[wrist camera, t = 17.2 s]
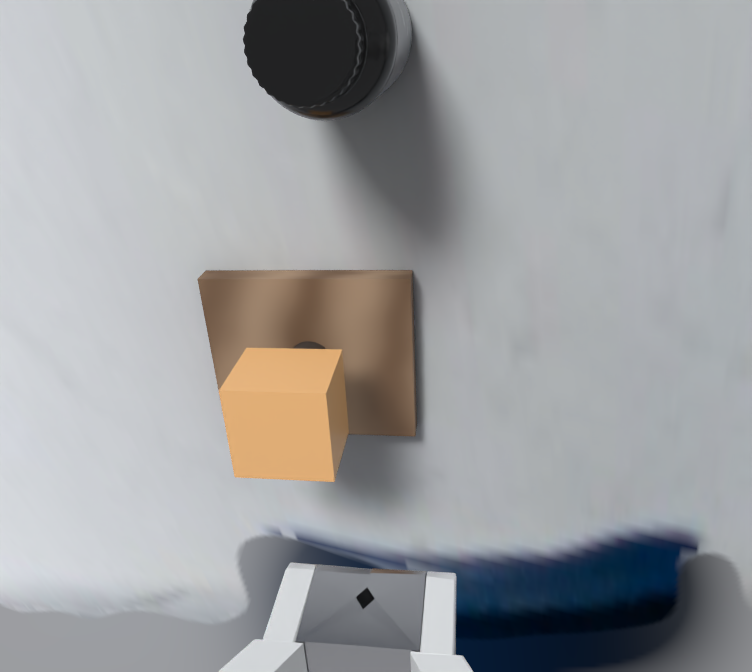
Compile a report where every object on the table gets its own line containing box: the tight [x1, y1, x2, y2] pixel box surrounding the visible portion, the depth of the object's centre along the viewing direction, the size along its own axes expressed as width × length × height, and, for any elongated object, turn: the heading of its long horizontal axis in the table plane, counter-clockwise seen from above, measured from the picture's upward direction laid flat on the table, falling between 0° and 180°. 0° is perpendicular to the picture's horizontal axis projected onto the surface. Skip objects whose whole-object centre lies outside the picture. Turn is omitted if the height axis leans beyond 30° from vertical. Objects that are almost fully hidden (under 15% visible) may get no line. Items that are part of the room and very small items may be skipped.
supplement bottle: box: [243, 0, 412, 121], centre depth 31 cm, size 7×7×12 cm
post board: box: [198, 270, 417, 436], centre depth 42 cm, size 14×12×10 cm
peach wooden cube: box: [219, 348, 349, 482], centre depth 39 cm, size 6×6×5 cm
